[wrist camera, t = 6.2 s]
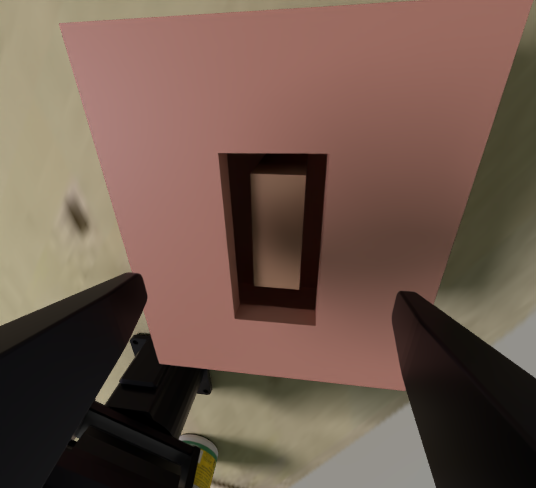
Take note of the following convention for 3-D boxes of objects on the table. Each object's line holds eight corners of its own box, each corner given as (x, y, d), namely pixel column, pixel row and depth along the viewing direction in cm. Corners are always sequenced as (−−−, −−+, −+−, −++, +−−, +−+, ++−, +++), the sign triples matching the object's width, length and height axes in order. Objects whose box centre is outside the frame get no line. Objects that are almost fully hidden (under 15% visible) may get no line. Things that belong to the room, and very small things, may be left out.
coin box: (375, 295, 19) (405, 391, 13) (204, 283, 21) (159, 363, 14) (425, 43, 12) (535, -8, 6) (169, 54, 14) (58, 23, 8)
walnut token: (302, 238, 17) (299, 289, 12) (269, 236, 17) (253, 285, 12) (308, 150, 14) (305, 175, 10) (269, 149, 15) (250, 173, 10)
